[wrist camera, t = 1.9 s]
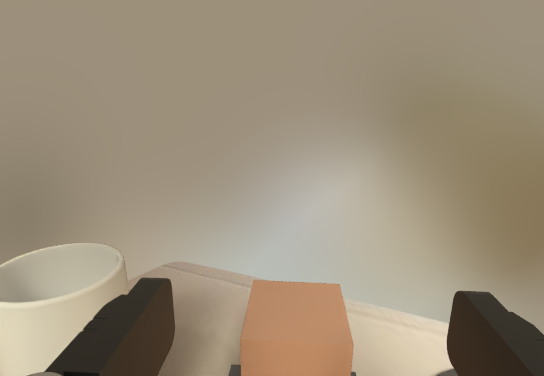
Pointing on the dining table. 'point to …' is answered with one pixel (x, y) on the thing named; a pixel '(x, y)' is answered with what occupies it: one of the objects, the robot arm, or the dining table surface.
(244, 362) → the orange brown block
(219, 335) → the dining table surface
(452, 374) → the plate
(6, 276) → the drinking glass
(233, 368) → the mat
